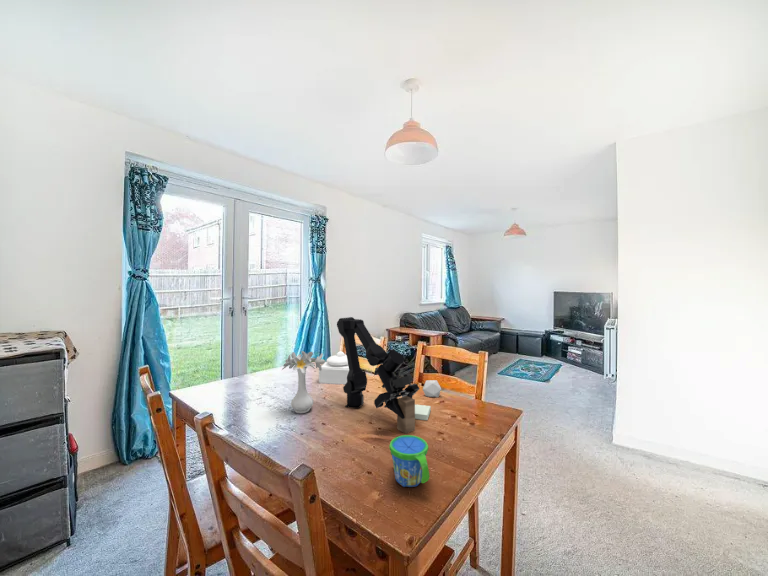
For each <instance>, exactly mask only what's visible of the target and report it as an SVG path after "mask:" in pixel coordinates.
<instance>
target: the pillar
mask: <svg viewBox="0 0 768 576" xmlns="http://www.w3.org/2000/svg"><path fill="white" fill-rule="evenodd" d="M397 399H398V404H399V406H400V408H401V410H402V412H403V414H404V417H405V418H404V419H402V418H401V417H399V416H398V415H397V414H396V416H397V419H396V421H397V422H396V423H397V426H396V427H397V430H398V431H400V432H401V433H403V434H404V435H408V434H409V433H411V432H413V431H415V430H416V419H415V404H416V401H415V400H416V399H415V398H413V397H412V398H410V397H408V396H404V397H402V396H401V397H398V398H397Z"/></svg>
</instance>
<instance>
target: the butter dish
mask: <svg viewBox="0 0 768 576" xmlns="http://www.w3.org/2000/svg"><path fill="white" fill-rule="evenodd" d="M321 367H322V370H321V371H320V370H319V369H318V384H324V385H325V384H326V385H340V384H343V386H345V384H346V383H347V375H348V372H349V366H348V360H347V355H346V353H345V352H343V351H341V350H340V351H338V352H336V354H335V355H331V356H329V357H327V359H326V361H325V363H324V364H321Z"/></svg>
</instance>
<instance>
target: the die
mask: <svg viewBox="0 0 768 576" xmlns="http://www.w3.org/2000/svg"><path fill="white" fill-rule="evenodd" d="M422 391H423V393H424V396H425V397H429V398H439V396H440V394H441V392H442V387H441V385H440V384H439V382H438V380H437V379H436V380H434V379H433V380H431V379H429V380H425V382H424V385H423V388H422ZM440 391H441V392H440Z"/></svg>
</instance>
